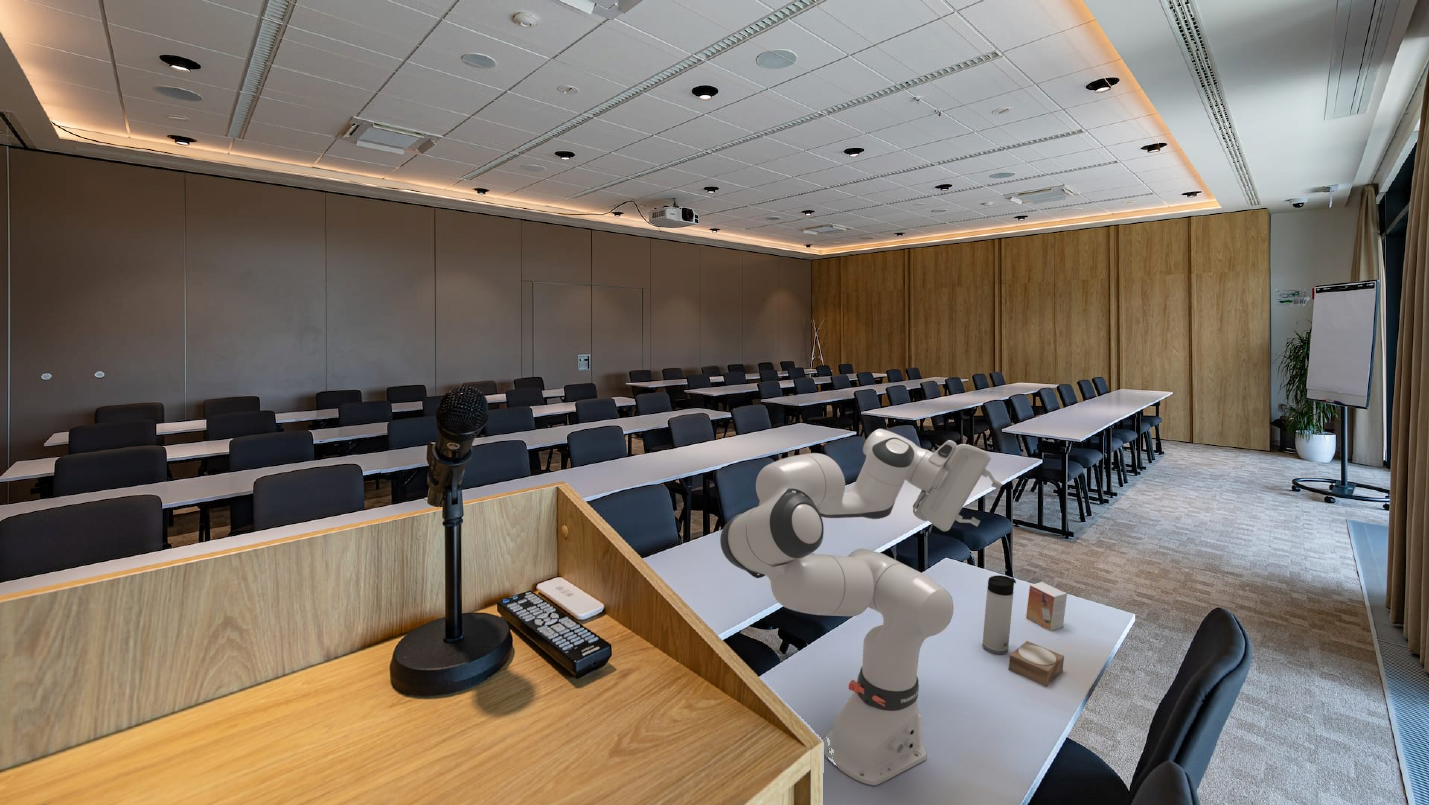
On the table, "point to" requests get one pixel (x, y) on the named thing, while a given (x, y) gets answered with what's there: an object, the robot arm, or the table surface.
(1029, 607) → the small box
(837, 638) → the table surface
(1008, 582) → the travel mug
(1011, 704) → the table surface
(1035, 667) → the plinth
